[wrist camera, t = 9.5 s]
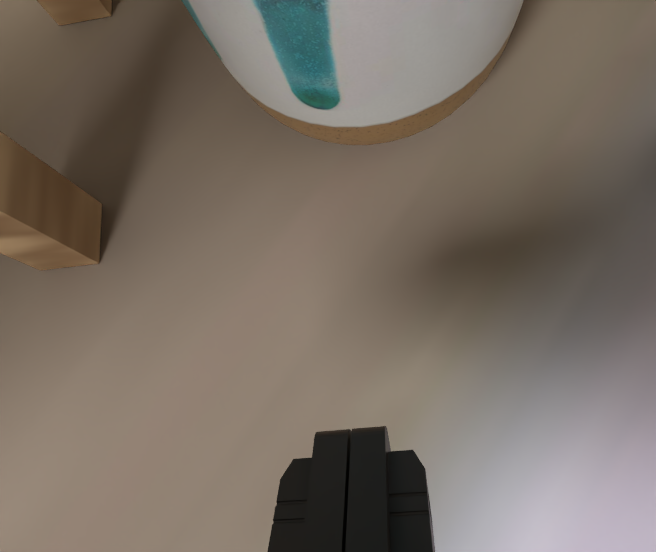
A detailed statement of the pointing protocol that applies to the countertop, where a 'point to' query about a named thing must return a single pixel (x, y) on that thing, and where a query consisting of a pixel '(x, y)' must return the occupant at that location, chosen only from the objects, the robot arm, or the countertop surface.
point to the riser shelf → (48, 188)
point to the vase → (358, 59)
